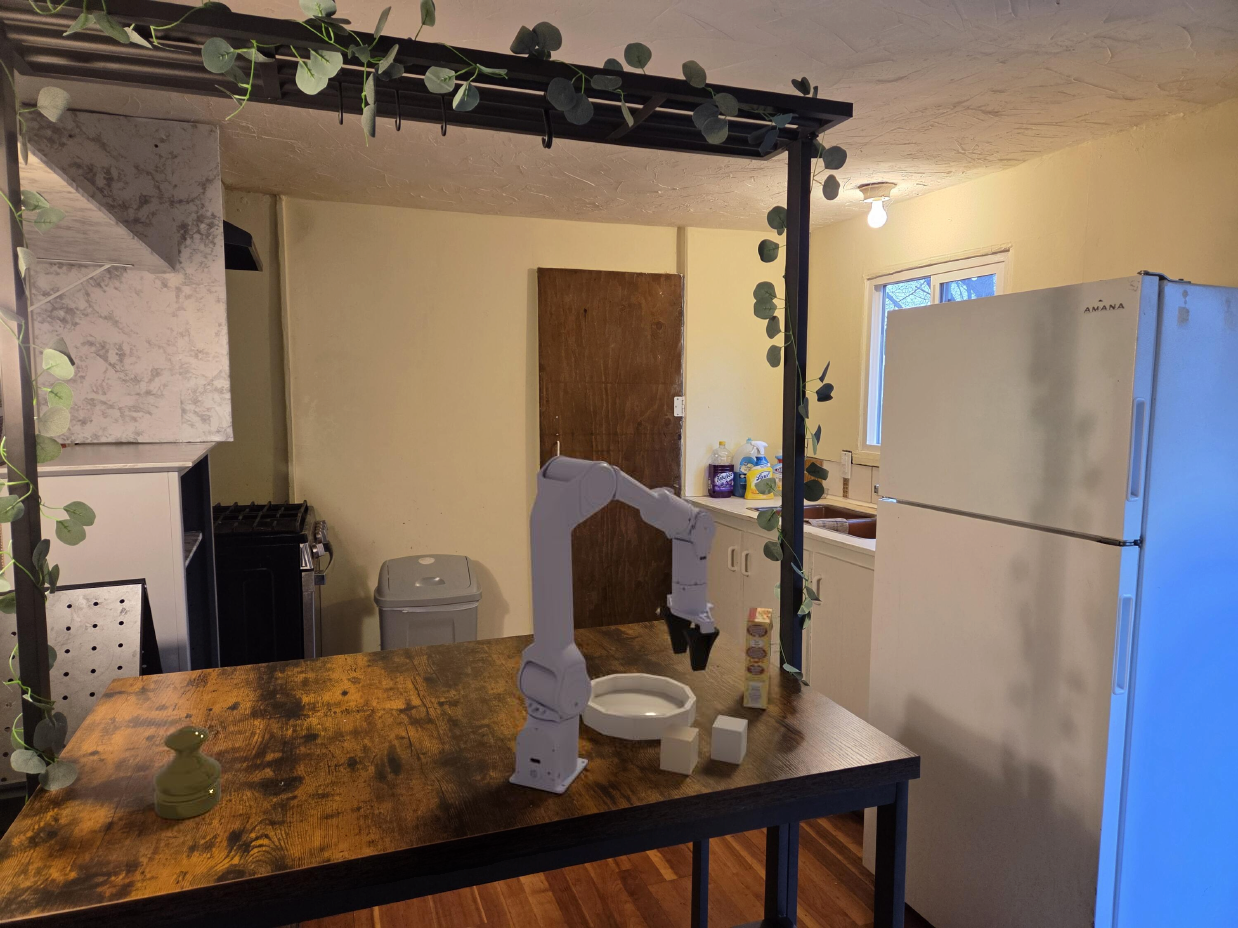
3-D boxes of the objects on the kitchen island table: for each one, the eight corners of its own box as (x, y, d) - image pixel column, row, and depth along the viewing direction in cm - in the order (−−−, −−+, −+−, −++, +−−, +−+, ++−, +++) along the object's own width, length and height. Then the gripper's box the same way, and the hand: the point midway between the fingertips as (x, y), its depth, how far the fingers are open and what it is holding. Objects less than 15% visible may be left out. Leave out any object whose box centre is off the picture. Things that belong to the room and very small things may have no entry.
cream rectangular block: (689, 775, 110) (691, 741, 110) (659, 769, 112) (661, 735, 111) (697, 761, 114) (699, 728, 114) (668, 755, 116) (669, 723, 115)
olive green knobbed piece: (142, 821, 94) (140, 742, 93) (171, 789, 101) (169, 715, 100) (206, 820, 95) (205, 741, 94) (231, 788, 102) (229, 715, 101)
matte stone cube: (740, 764, 114) (742, 731, 113) (710, 758, 115) (712, 726, 115) (746, 751, 118) (747, 719, 117) (717, 746, 119) (718, 714, 119)
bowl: (676, 748, 118) (677, 726, 118) (563, 726, 124) (564, 705, 124) (705, 703, 135) (706, 683, 135) (605, 686, 142) (605, 667, 141)
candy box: (766, 710, 133) (771, 622, 132) (741, 707, 134) (746, 620, 133) (768, 690, 142) (773, 608, 140) (745, 688, 143) (749, 606, 141)
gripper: (732, 590, 121) (731, 674, 122) (694, 567, 134) (693, 643, 136) (690, 594, 118) (689, 680, 120) (655, 570, 132) (655, 647, 134)
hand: (689, 661), depth 128 cm, fingers open, 7 cm apart
